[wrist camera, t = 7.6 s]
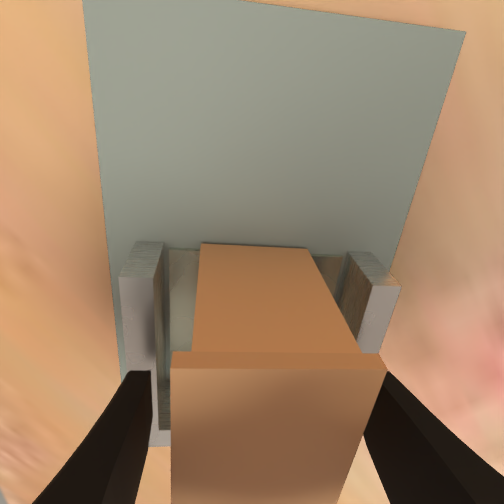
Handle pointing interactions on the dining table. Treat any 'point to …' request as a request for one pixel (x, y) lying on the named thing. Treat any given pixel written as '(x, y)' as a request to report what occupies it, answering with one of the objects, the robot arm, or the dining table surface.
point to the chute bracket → (184, 299)
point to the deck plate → (259, 127)
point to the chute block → (267, 384)
